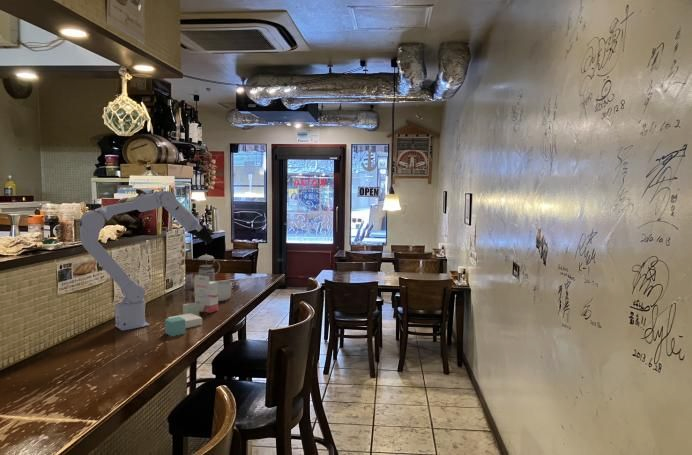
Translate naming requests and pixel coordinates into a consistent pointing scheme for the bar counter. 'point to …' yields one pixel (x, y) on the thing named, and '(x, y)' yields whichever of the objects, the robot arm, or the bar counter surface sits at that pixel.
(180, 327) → the teal cube
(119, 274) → the robot arm
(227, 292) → the ramekin
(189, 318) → the cream slab
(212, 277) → the french press
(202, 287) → the ink cartridge box
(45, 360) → the bar counter surface
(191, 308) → the sage block
